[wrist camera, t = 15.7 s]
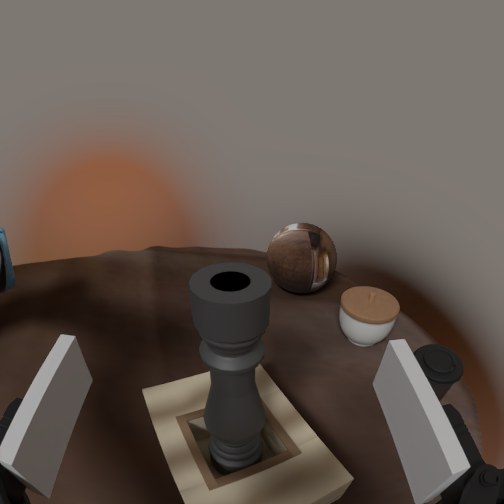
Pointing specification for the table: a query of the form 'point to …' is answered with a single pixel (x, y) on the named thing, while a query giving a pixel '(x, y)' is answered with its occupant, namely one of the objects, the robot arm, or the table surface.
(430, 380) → the coffee cup
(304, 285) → the clear glass sphere
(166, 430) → the socket block
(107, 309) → the table surface
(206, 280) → the candle holder
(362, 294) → the lidded jar
